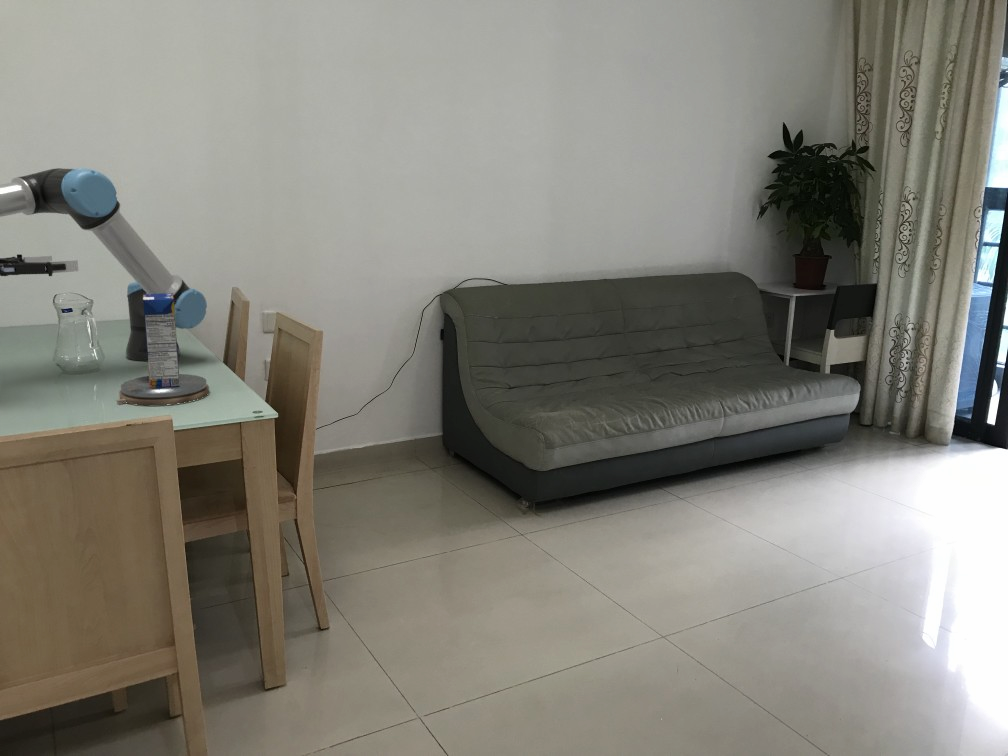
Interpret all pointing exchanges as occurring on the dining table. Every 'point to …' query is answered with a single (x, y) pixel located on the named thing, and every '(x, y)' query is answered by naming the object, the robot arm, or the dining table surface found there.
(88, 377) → the dining table surface
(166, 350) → the beverage box
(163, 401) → the turntable base
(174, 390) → the turntable
